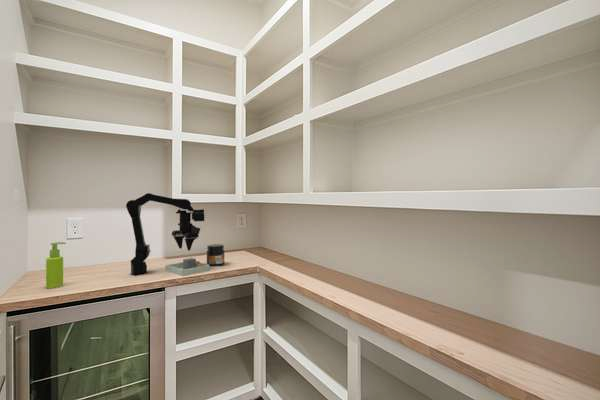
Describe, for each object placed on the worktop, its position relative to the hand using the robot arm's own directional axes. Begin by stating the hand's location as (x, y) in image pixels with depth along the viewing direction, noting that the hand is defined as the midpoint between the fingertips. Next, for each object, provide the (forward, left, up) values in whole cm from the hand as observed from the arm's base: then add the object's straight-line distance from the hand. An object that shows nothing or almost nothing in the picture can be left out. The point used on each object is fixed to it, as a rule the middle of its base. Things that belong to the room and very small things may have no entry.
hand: (184, 249), depth 157 cm
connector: (+3, -3, -11) cm, 12 cm away
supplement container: (+19, -2, -12) cm, 22 cm away
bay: (0, -3, -12) cm, 12 cm away
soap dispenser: (-51, +20, -12) cm, 56 cm away
